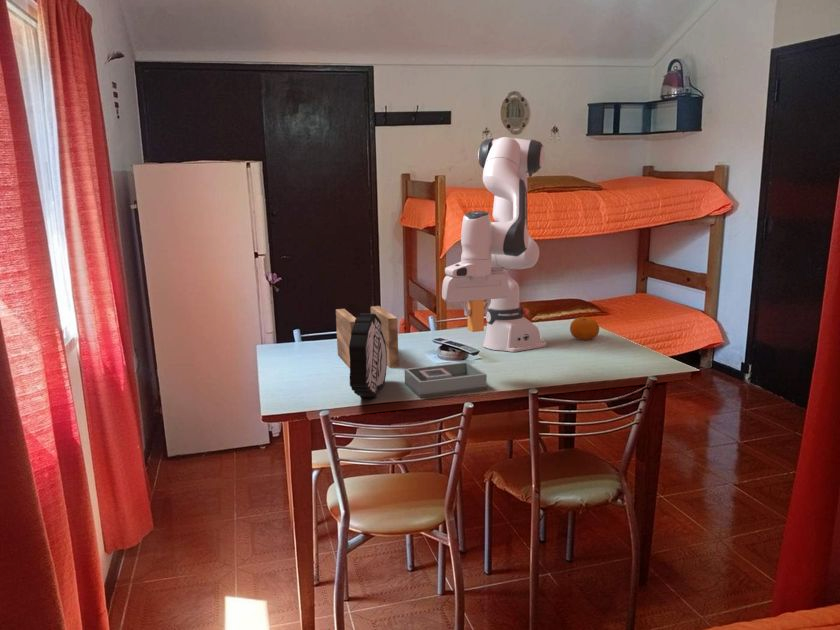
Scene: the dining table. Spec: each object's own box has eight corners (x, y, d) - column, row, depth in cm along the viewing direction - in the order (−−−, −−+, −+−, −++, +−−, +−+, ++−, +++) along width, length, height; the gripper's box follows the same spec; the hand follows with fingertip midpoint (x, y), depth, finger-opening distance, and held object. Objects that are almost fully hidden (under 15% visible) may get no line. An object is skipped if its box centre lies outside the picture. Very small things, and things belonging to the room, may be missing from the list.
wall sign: (384, 404, 197) (362, 387, 169) (370, 403, 198) (345, 387, 169) (388, 331, 203) (368, 303, 175) (375, 331, 204) (352, 303, 175)
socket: (442, 379, 198) (442, 368, 197) (451, 386, 191) (451, 374, 190) (418, 382, 195) (418, 370, 195) (427, 389, 189) (427, 377, 188)
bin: (467, 376, 204) (467, 361, 203) (486, 389, 191) (486, 374, 190) (404, 383, 198) (404, 369, 197) (420, 398, 185) (419, 382, 184)
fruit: (569, 341, 243) (570, 320, 242) (569, 335, 253) (570, 314, 252) (599, 343, 241) (600, 321, 239) (598, 336, 251) (599, 315, 249)
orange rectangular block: (478, 328, 200) (478, 295, 198) (483, 330, 196) (484, 297, 194) (467, 329, 199) (467, 296, 197) (472, 332, 195) (472, 298, 193)
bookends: (380, 350, 236) (378, 305, 233) (398, 366, 215) (397, 318, 212) (337, 354, 231) (335, 309, 228) (352, 371, 211) (350, 322, 207)
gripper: (503, 265, 200) (503, 310, 203) (439, 268, 193) (439, 315, 196) (513, 267, 194) (512, 314, 197) (447, 271, 187) (447, 319, 190)
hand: (475, 315), depth 196 cm, fingers closed on orange rectangular block, 4 cm apart
